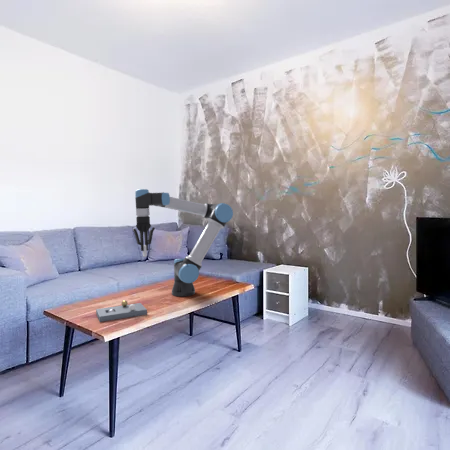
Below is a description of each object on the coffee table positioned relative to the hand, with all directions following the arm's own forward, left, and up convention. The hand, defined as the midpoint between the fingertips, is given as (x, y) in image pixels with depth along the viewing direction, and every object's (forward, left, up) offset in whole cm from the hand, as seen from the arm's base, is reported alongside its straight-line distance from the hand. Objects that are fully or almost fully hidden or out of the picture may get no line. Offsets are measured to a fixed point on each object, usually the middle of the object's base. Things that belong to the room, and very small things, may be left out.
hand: (144, 256), depth 186 cm
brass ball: (+14, +11, -23) cm, 29 cm away
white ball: (+12, +20, -23) cm, 33 cm away
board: (+17, +15, -27) cm, 35 cm away
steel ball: (+22, +15, -26) cm, 37 cm away
